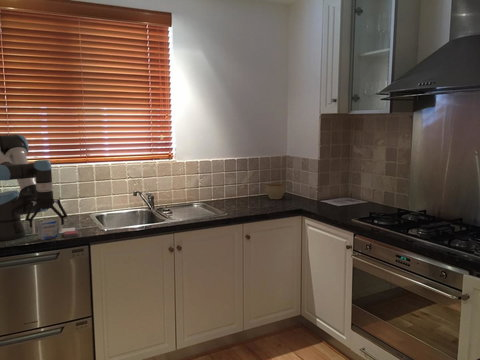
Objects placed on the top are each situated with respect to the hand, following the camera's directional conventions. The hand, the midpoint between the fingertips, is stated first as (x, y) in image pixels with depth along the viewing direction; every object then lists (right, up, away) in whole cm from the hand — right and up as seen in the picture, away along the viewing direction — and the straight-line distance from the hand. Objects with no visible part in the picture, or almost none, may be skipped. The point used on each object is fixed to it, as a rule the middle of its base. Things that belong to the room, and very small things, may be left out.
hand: (47, 232), depth 213 cm
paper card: (+4, -1, +14) cm, 15 cm away
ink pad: (+10, -2, +5) cm, 11 cm away
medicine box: (0, -3, 0) cm, 3 cm away
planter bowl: (+126, +13, +105) cm, 164 cm away
